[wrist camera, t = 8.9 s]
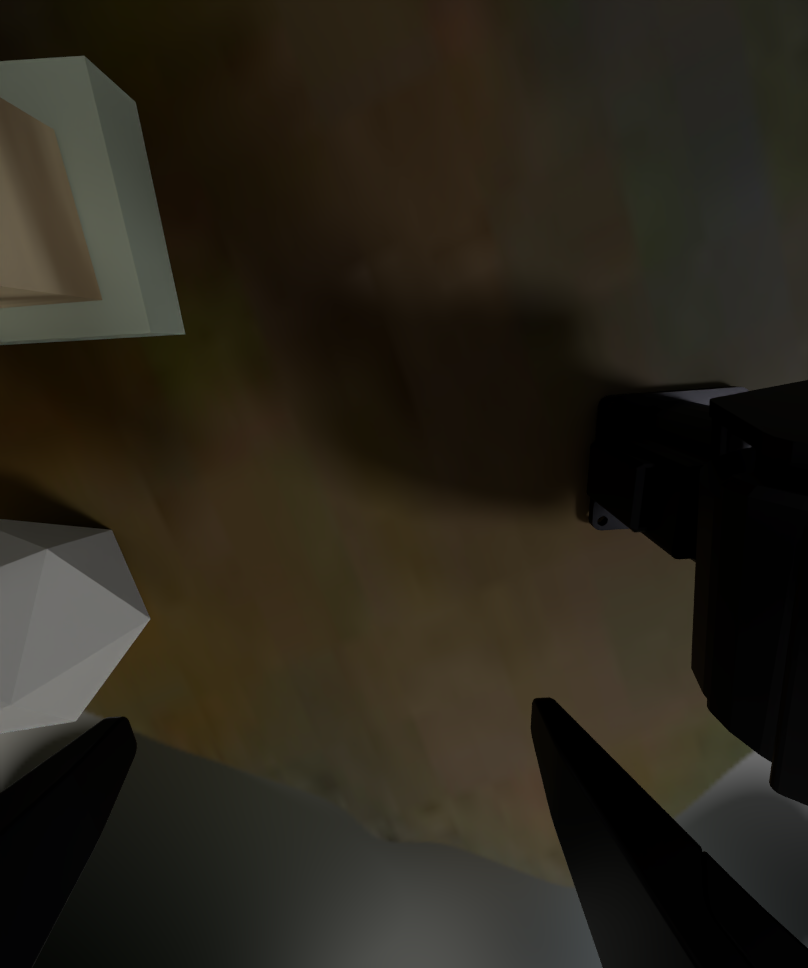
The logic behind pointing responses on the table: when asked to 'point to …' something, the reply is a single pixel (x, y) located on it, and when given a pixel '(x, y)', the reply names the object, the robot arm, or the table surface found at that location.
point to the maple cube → (38, 219)
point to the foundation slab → (97, 206)
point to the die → (60, 619)
